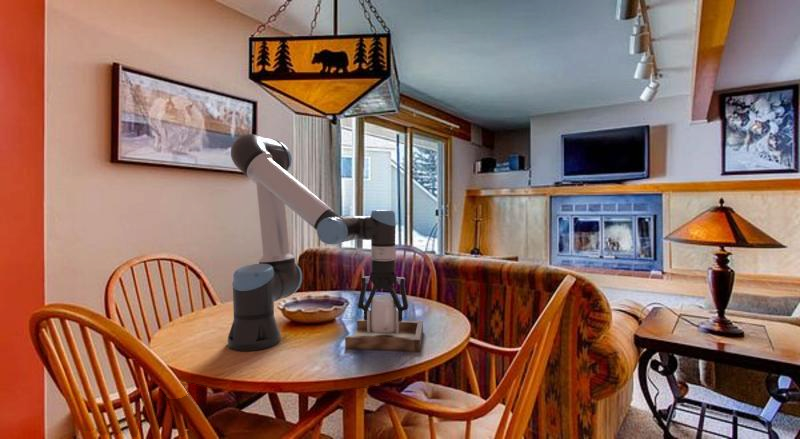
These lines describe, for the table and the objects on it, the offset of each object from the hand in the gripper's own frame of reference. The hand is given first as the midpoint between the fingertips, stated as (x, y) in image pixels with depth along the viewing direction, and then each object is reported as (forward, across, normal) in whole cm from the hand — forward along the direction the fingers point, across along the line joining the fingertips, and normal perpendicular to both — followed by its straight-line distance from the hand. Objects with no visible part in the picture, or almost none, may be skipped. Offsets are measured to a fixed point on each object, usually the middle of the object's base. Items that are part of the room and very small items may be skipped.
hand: (383, 330), depth 126 cm
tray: (+3, +1, 0) cm, 3 cm away
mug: (0, 0, 0) cm, 1 cm away
